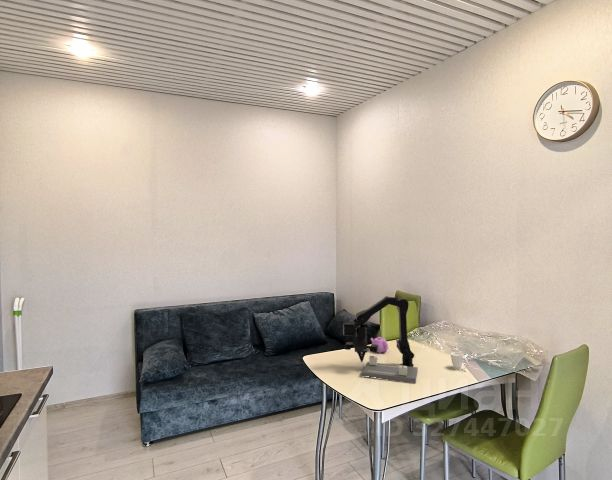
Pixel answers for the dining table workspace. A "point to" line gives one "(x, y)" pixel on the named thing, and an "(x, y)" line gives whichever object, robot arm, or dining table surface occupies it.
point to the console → (390, 372)
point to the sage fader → (402, 370)
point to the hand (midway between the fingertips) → (361, 361)
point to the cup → (457, 360)
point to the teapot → (380, 344)
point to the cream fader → (373, 360)
